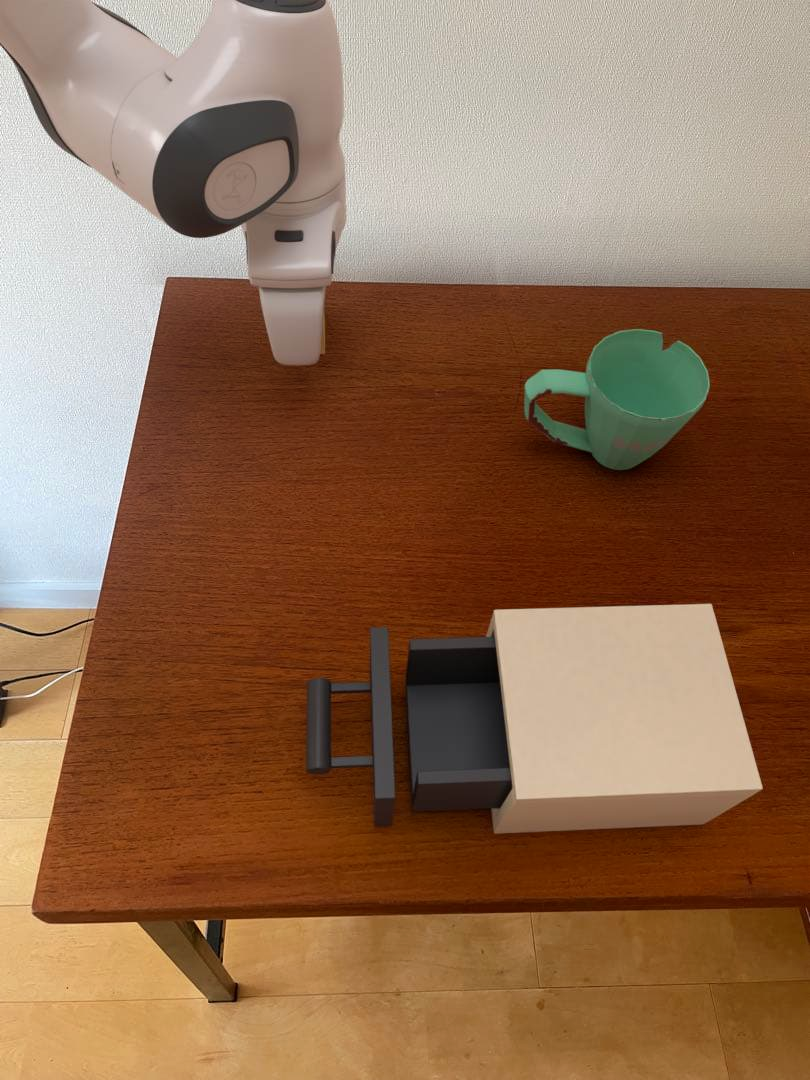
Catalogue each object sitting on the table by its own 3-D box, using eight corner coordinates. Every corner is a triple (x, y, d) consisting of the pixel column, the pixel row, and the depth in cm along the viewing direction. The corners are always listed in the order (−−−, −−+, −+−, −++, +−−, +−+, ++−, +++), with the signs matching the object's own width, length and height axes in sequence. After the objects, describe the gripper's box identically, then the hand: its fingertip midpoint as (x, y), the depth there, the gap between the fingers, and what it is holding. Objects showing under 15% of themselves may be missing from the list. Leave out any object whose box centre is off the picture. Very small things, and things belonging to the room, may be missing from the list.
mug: (657, 406, 76) (694, 328, 67) (680, 492, 70) (724, 418, 62) (504, 408, 75) (521, 328, 66) (516, 494, 70) (537, 420, 61)
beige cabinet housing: (493, 833, 55) (516, 799, 46) (476, 666, 61) (493, 609, 53) (703, 824, 56) (763, 789, 47) (665, 660, 62) (712, 603, 54)
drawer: (310, 829, 54) (301, 801, 47) (311, 674, 59) (304, 629, 53) (572, 818, 55) (601, 789, 48) (549, 666, 60) (572, 621, 54)
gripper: (258, 125, 70) (274, 254, 82) (246, 285, 60) (266, 407, 71) (330, 126, 71) (335, 254, 82) (331, 285, 60) (336, 407, 72)
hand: (303, 327), depth 77 cm, fingers open, 5 cm apart
